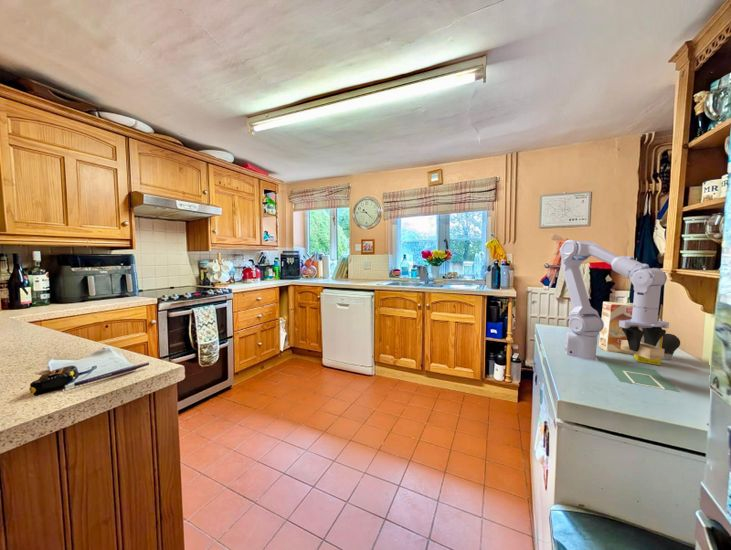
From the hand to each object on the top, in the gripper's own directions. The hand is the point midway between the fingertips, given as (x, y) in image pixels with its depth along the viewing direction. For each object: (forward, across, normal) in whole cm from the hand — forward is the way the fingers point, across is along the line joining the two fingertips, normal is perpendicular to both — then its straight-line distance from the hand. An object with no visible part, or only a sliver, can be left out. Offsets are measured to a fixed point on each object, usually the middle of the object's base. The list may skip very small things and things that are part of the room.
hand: (641, 350), depth 90 cm
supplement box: (+9, +16, +12) cm, 22 cm away
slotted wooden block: (+1, 0, 0) cm, 1 cm away
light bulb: (+9, +27, +14) cm, 31 cm away
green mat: (+9, 0, 0) cm, 9 cm away
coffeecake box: (+9, +19, +23) cm, 31 cm away
